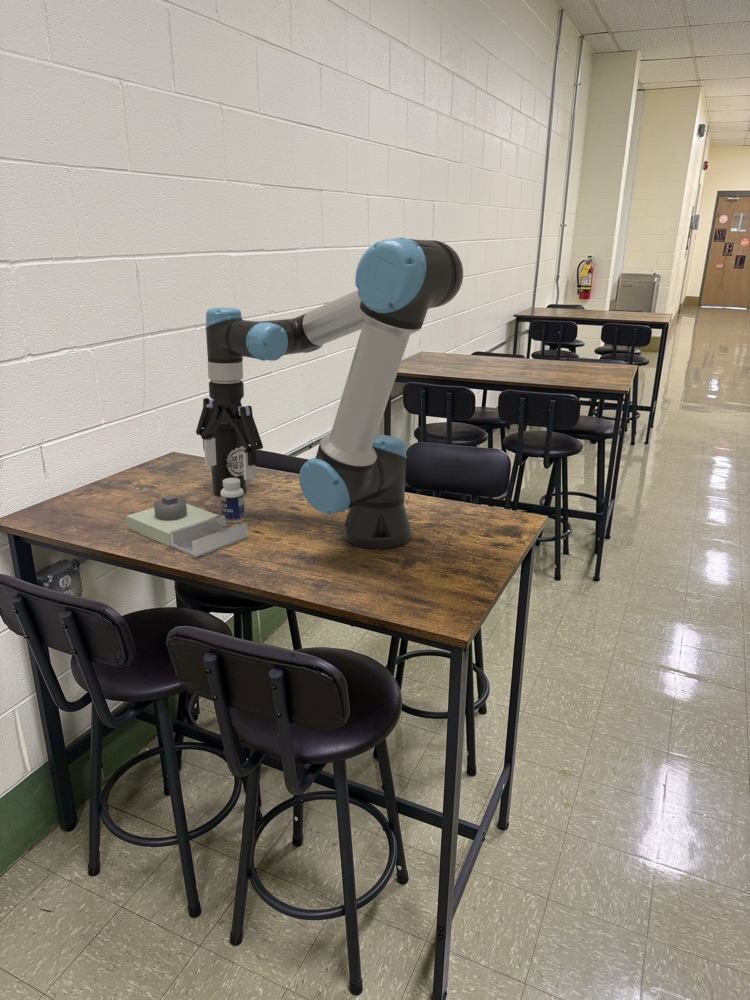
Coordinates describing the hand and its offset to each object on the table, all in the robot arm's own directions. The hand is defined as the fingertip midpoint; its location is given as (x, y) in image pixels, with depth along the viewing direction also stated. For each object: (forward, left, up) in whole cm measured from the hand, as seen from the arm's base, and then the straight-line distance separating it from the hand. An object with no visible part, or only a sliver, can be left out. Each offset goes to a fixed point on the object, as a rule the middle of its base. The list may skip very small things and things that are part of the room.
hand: (229, 472), depth 159 cm
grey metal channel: (-7, +12, -12) cm, 19 cm away
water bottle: (+16, -13, -12) cm, 23 cm away
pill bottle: (0, 0, -12) cm, 12 cm away
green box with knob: (+5, +12, -12) cm, 18 cm away
